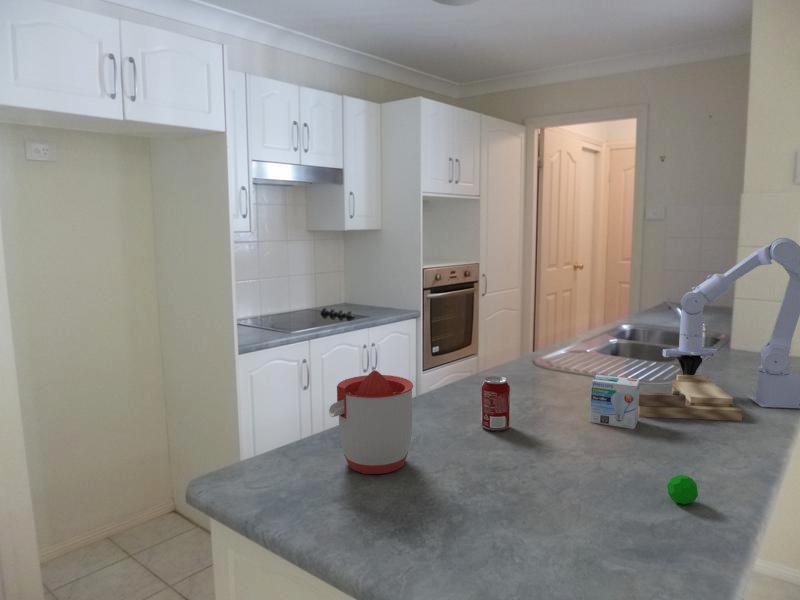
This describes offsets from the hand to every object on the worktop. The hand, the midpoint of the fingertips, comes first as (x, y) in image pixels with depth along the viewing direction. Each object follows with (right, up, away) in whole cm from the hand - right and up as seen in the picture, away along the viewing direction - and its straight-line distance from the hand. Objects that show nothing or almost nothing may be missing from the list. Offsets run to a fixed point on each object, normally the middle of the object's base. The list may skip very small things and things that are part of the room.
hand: (688, 381), depth 167 cm
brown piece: (-8, -5, -11) cm, 14 cm away
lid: (-2, -2, -11) cm, 11 cm away
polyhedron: (-32, -13, -62) cm, 71 cm away
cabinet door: (-16, -4, -18) cm, 25 cm away
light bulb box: (-29, -7, -22) cm, 37 cm away
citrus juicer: (-88, -11, -45) cm, 99 cm away
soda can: (-59, -8, -25) cm, 64 cm away
